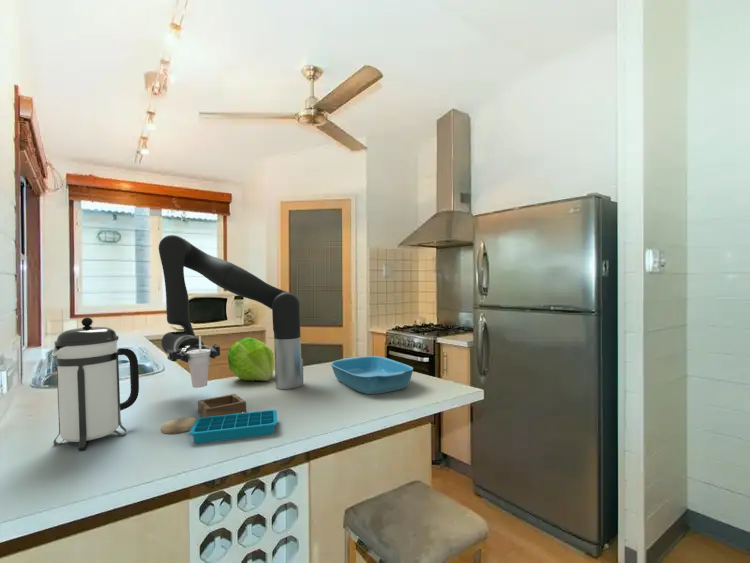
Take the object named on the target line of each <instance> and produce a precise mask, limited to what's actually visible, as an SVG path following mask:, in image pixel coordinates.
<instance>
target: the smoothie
mask: <svg viewBox="0 0 750 563" xmlns="http://www.w3.org/2000/svg"><path fill="white" fill-rule="evenodd" d="M198 339H199V349H197V350H191V351H188V352H186V353H187V354H188V363H187V364H188V367H189V373H190V378H191V386H192V388H194V389H195V388H203V387H206V386H208V381H209V378H208V377H209V368H210V358H211V357H210V354H211V350H210V349H201V341H202V335H198Z"/></svg>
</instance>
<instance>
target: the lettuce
mask: <svg viewBox="0 0 750 563" xmlns="http://www.w3.org/2000/svg"><path fill="white" fill-rule="evenodd" d="M227 361H228V369H229V370H230V372H232V374H233V375H234V376H235V377H237V378H238V379H241V380H244V381H247V382H253V381H254V382H255V380H256V381H263V382H268V381H270V380H271V379H272V378H273V376H274V370H275V357H274V352H273V351H272V349H271V348H270V346H268V344H266V343H265V342H263V341H260V340H258V339H256V338H254V337H245V338H242V339H239V340H237V341H236V342H235V343H233V344H232V345H231V346H230V348H229V350H228V352H227Z"/></svg>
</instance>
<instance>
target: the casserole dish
mask: <svg viewBox="0 0 750 563" xmlns="http://www.w3.org/2000/svg"><path fill="white" fill-rule="evenodd" d="M330 366H331V367H332V371H333V374H334V376H335V378H336V379H337V380H338V381H339V382H341V383H342V384H344V385H346V386H347V387H350V388H351V389H353V390H355V391H357V392H359V393H362V394H365V395H376V394H383V393H388V392H394V391H400V390H403V389H405V388H406V387H407V386H408V385H409V384H410V381H411V379H412V375H413V371H414V367H413V366H410V365H408V364H407V363H406V364H405V363H403V362H399V361H397V360H394V359H391V358H387V357H386V356H385V357H384V356H378V355H368V356H367V355H365V356H354V357H346V358H341V359H337V360H334V361H331V363H330Z"/></svg>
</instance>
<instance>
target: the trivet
mask: <svg viewBox="0 0 750 563" xmlns="http://www.w3.org/2000/svg"><path fill="white" fill-rule="evenodd" d="M196 419H198V418H197V417H179V418H175V419H171V420H167V421H165V422H163V423H162V424H161V425H160V431H161V433H163V434H167V435H168V434H169V435H170V434H173V435H175V434H181V433H186V432H190V430H191V428H192V426H193V424H194V422H195V420H196Z"/></svg>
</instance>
